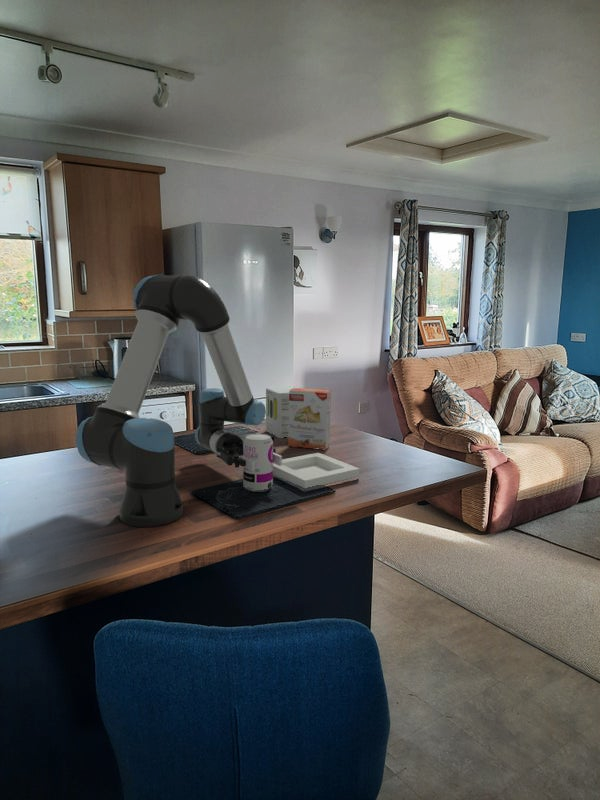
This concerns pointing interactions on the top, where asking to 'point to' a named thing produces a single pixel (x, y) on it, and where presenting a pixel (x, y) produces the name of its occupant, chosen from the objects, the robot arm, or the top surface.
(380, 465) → the top surface
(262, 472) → the supplement can
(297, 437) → the cracker box
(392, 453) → the top surface
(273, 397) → the supplement box
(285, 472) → the tray
